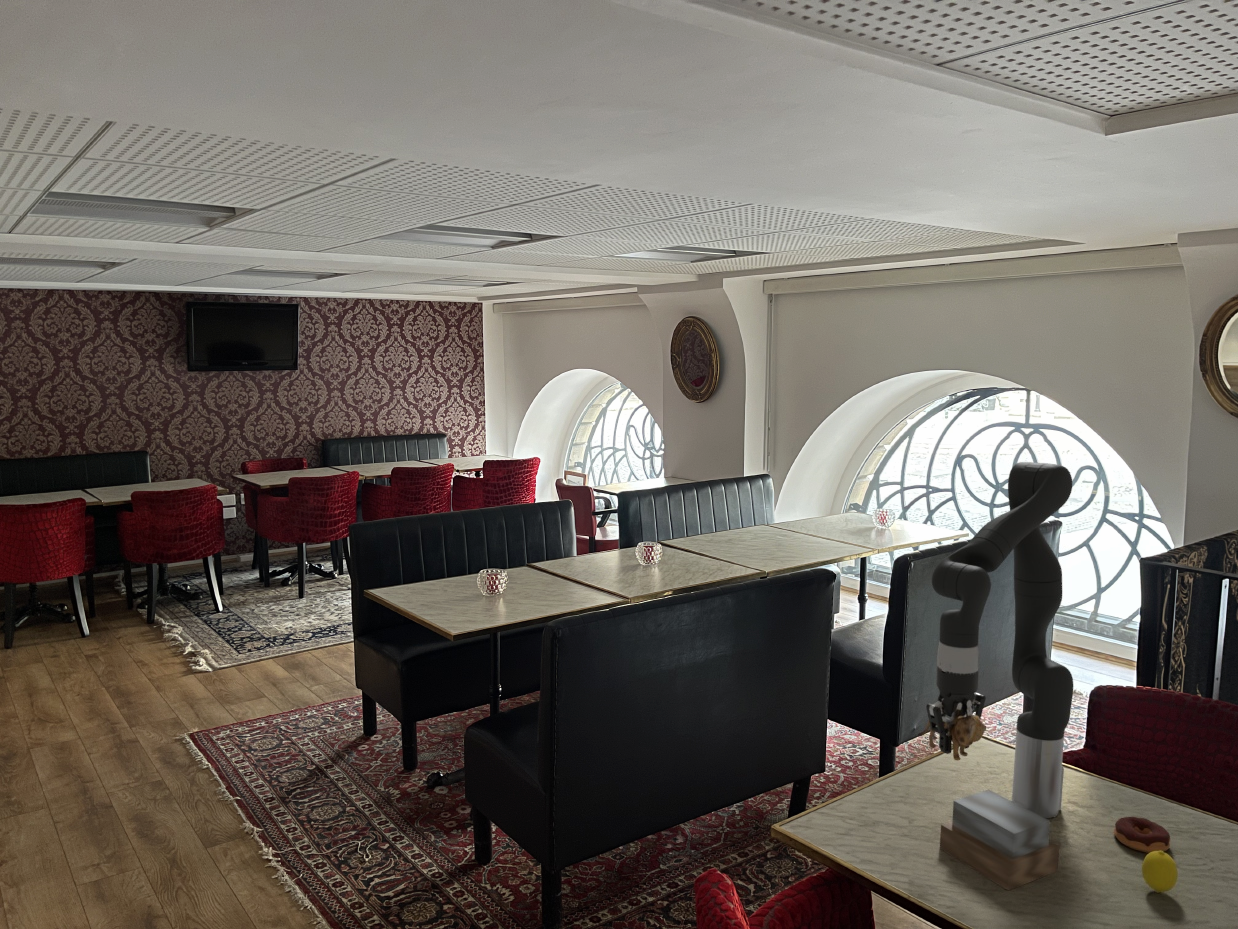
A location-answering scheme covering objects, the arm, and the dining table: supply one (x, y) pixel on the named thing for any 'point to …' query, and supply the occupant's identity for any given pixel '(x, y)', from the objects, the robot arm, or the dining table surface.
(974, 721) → the lion figurine
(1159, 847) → the donut
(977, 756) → the dining table surface
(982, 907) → the dining table surface
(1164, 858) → the lemon
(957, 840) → the two-tone block
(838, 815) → the dining table surface
